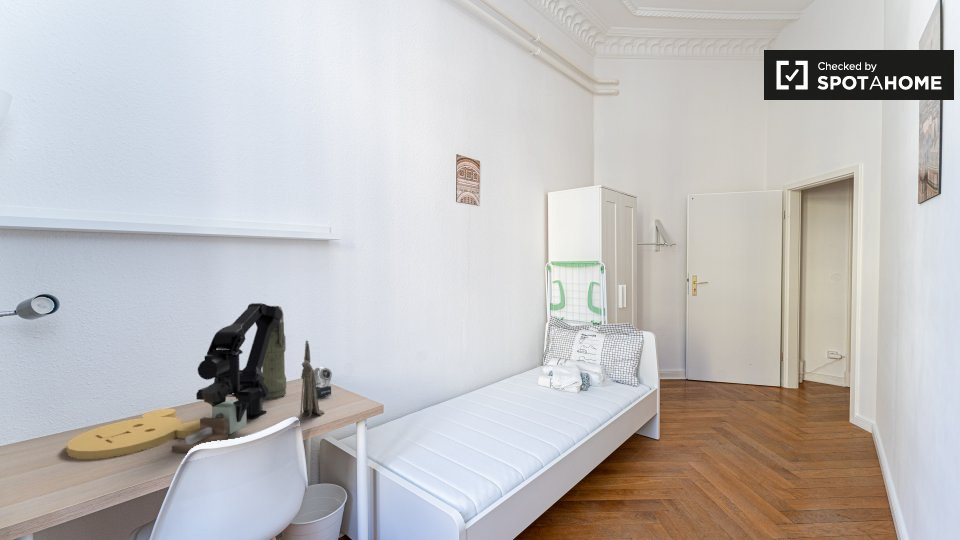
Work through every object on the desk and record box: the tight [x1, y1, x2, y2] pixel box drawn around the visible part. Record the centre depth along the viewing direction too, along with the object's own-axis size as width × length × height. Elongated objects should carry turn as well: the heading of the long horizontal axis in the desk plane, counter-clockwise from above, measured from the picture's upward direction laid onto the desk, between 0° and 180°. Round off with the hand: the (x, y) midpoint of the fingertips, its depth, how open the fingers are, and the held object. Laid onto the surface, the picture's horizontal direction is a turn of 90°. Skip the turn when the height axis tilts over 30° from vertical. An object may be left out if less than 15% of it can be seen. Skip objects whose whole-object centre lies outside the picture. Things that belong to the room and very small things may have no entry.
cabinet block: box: [211, 399, 247, 435], centre depth 132 cm, size 8×6×8 cm
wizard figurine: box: [299, 340, 325, 419], centre depth 146 cm, size 10×8×25 cm
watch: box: [313, 366, 333, 399], centre depth 167 cm, size 6×8×11 cm
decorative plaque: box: [66, 408, 200, 460], centre depth 127 cm, size 31×3×30 cm
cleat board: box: [171, 416, 229, 453], centre depth 122 cm, size 11×8×6 cm
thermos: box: [261, 305, 287, 400], centre depth 167 cm, size 9×12×35 cm
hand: (229, 421), depth 132 cm, fingers closed on cabinet block, 6 cm apart
